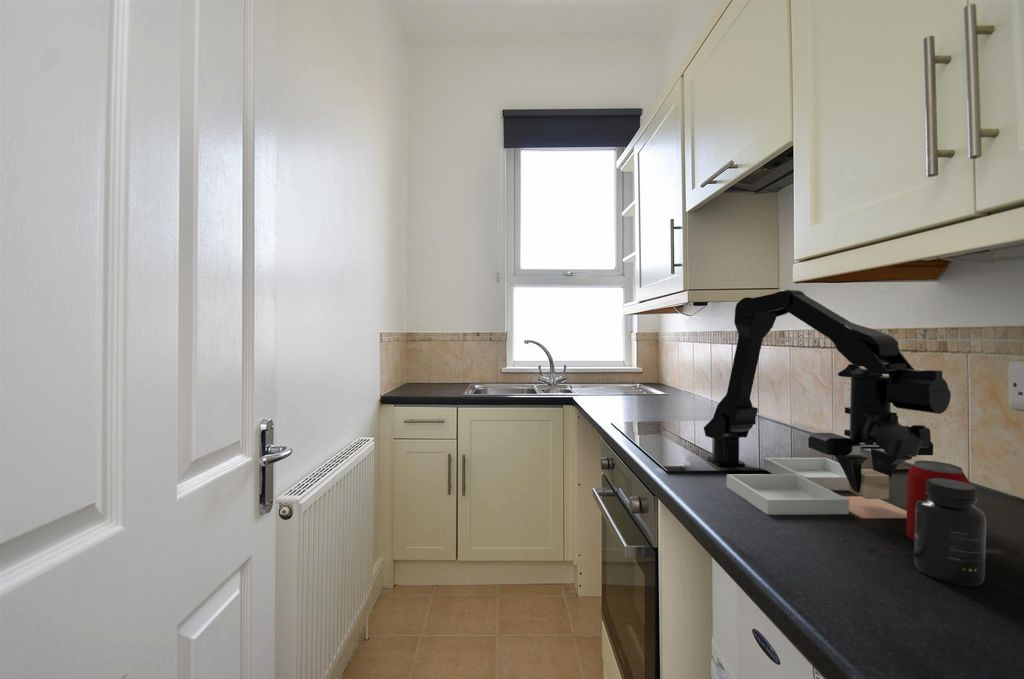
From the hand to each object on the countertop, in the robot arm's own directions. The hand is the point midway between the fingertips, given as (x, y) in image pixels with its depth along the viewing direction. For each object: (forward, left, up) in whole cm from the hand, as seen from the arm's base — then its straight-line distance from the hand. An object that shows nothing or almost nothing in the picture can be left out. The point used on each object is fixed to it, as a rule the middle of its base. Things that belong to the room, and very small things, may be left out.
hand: (868, 491), depth 84 cm
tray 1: (-16, +2, -3) cm, 16 cm away
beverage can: (+14, -1, -3) cm, 15 cm away
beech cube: (0, 0, 0) cm, 1 cm away
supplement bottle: (+22, -7, -3) cm, 23 cm away
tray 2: (-4, -13, -3) cm, 14 cm away
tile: (0, 0, -3) cm, 3 cm away
